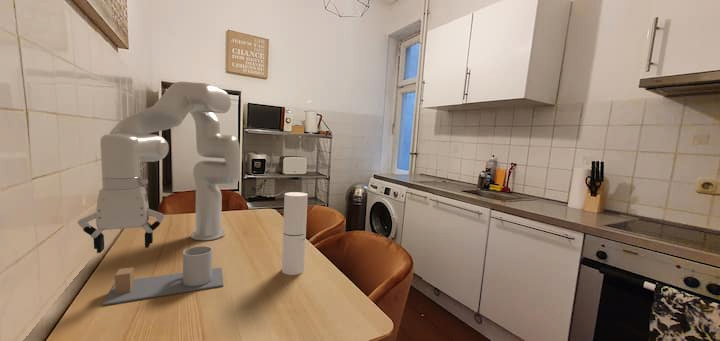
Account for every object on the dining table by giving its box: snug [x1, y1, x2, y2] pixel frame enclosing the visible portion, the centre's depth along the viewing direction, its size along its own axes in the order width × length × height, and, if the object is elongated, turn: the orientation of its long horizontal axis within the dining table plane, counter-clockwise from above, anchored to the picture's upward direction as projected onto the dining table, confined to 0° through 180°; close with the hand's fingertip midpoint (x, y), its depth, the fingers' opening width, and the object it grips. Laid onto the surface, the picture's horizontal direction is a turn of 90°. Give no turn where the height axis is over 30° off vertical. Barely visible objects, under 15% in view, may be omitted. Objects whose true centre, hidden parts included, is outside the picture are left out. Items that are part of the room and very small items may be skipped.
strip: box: [102, 266, 224, 306], centre depth 80 cm, size 12×26×5 cm, turn 118°
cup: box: [182, 245, 213, 287], centre depth 82 cm, size 7×10×9 cm
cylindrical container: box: [281, 191, 308, 276], centre depth 93 cm, size 7×7×25 cm
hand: (125, 248), depth 75 cm, fingers open, 9 cm apart
